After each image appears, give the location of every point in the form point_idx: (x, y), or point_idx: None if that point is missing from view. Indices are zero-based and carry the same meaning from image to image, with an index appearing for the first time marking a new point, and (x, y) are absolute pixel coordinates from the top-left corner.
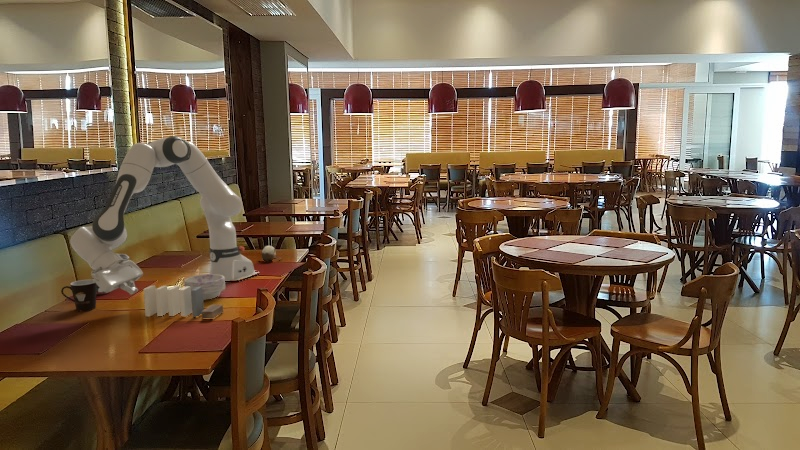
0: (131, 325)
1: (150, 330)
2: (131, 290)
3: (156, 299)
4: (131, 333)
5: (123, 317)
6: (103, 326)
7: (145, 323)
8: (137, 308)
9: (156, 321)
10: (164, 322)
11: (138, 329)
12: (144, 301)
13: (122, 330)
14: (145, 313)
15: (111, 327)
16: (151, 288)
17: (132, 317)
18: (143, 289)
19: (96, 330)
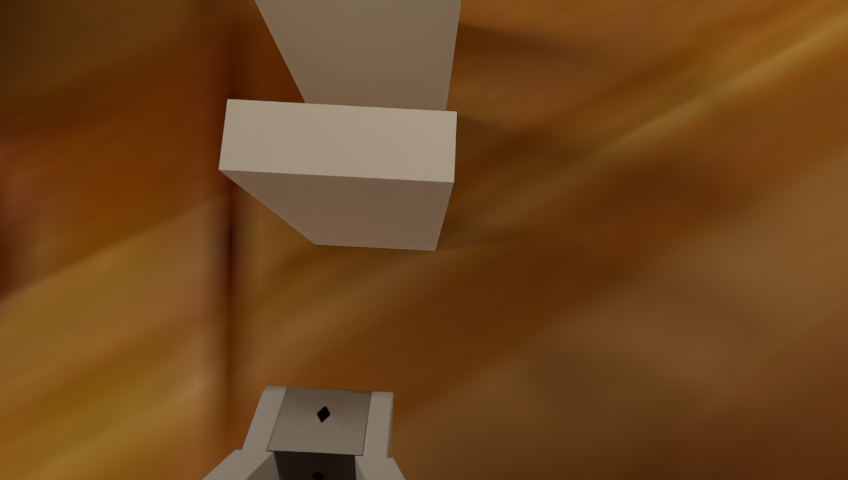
0: (671, 243)
1: (753, 43)
2: (389, 432)
3: (451, 67)
4: (838, 143)
5: (478, 436)
6: (731, 472)
7: (610, 158)
8: (201, 459)
9: (554, 98)
10: (570, 29)
11: (748, 139)
12: (441, 224)
13: (791, 248)
14: (435, 246)
15: (742, 383)
16: (346, 115)
17: (472, 351)
18: (452, 183)
19: (833, 469)
